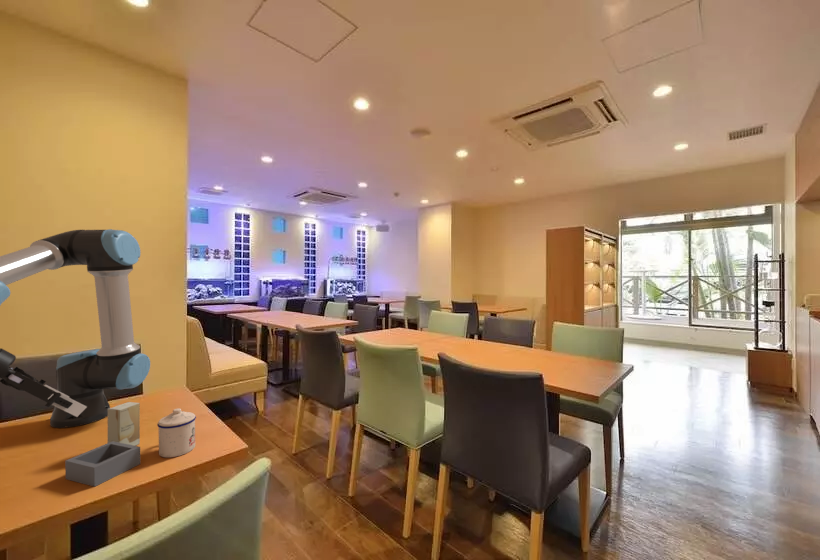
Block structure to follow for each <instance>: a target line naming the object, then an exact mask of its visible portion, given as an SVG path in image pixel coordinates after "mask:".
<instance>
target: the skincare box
mask: <svg viewBox="0 0 820 560" xmlns="http://www.w3.org/2000/svg"><path fill="white" fill-rule="evenodd" d="M140 404H141V402H133V401H127V402H125V403H122V404H121V403H120V404H117V405H116V406H113V407H110V408H109V409H108V416H107V443H109V442H112V441H114V442H119V443H124V444H129V445H134V446H138V445H140V443H141V442H140V441H141V440H140V438H141V437H140V436H141V435H140V433H141V431H140V429H141V428H140V427H141V425H140V419H141V418H140V415H141V412H140V409H141V408H140V406H141V405H140ZM107 443H106V444H107Z"/></svg>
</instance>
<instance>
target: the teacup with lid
mask: <svg viewBox="0 0 820 560" xmlns="http://www.w3.org/2000/svg"><path fill="white" fill-rule="evenodd" d="M196 419H197V416H196V414H195V413H193V412H191V411H190V412H189V411H182V409H181V408H174V409H173V410H172V412H171V413H169V414H168V415H166V416H164V417H162V418H160V419H159V420H158V422H157V427H158V455H159V456H160V457H162V458H175V457H179V456H183V455H185V454H188V453H190V452H192V451H193V450H194V449H195V447H196Z"/></svg>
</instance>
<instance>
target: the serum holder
mask: <svg viewBox="0 0 820 560" xmlns="http://www.w3.org/2000/svg"><path fill="white" fill-rule="evenodd" d="M64 463H65V466H64V467H65V471H64V472H65V480H69V481H73V482H75V483H80V484H84V485H88V486H91V487H94V488H95V487H97V486H99V485H100V484H101V485H102V484H103V483H104V482H107V481H108V480H112V479H113V478H116V477H117V476H119V475H121V474H123V473H125V472H127V471H129V470H131V469H134V468H135V467H136V466H137V467H138V466H139V465H141V446H138V445H136V446H134V445H129V444H124V443H119V442H114V441H112V442H109V443H105V444H102V445H100V446H98V447H95V448H93V449H91V450H87V451H85V452H83V453H80V454H77V455H75V456H73V457H71V458H69V459H65V461H64Z"/></svg>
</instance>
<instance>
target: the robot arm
mask: <svg viewBox="0 0 820 560" xmlns="http://www.w3.org/2000/svg"><path fill="white" fill-rule="evenodd" d="M140 257H141V247H140V244H139V242H138V240H137V239H136V238H135V237H134V236H133V235H132V234H131V233H129V232H128V231H125V230H120V229H111V228H109V229H74V230H68V231H64V232H60V233H57V234H54V235H52V236H48V237H44V238H40V239H38V240H35V241H33V242H31V244H30V245H29V246H28V247H25V248H22V249H18V250H16V251H13V252H9V253H7V254H3V255H0V306H2V304H3V303H4V302H5V301H7V299H8V298H9V297H10V296H11V290H10V288H9V286H8V285H10V284H11V285H12V284H13V283H16V282H18V281H22V280H23V279H26V278H28V277H30V276H33V275H36V274H39V273H41V272H43V271H46V270H51V271H52V270H54V271H55V270H58V269H60V268H64V267H68V266H86V270H87V273H89V274H90V275H92V276H93V278H94V285H95V286H94V287H95V295H96V305H97V314H98V324H99V333H100V343H101V345H100V346H101V347H100V348H95V349H88V350H83V351H78V352H77V351H76V352H72V353H68V354H64V355H61V356H59V357H58V358H57V361H56V368H55V373H56V374H55V377H56V389H55V388H53V387H51V386H49V384H48V385H47V384H45V383H46V382H47V381H46V380H44V379H40V381H39V380H38V379H37V378H36V377H34V376H32V375H30V374H29V373H28V372H27V371H25V370H24V369H22V368H20V367H18V366H16V367H15V368H13V367H10V366H11V365H13V364H14V362H15V361H16V359H17V356H16V355H15V354H13V353H11V352H9V351H8V350H6V349H4V348H3V347H2V348H0V383H1V384H3V385H5V386H7V387H9V388H10V387H11V388H14V389H15V390H17V391H19V392H26V393H28V394H30V395H32V396H34V397H36V398H37V399H39V400H41V401H44V402H45V403H46V404H45V405H44V406H45V407H48V408H49V407H51V406H53V407H54V408H53V410H52V413H51V415H50V419H49V421H50V427H52V428H57V429H58V428H59V429H61V428H62V429H63V428H72V427H78V426H83V425H88V424H91V423H93V422H94V423H95V422H97V421H100V420H102V419H105V418H107V417H108V409H109V408H111V406H110V403H109V401H108V400H107V397H106V395H105V393H104V390H124V389H133V388H136V387H138V386H140V385H141V384H142V383H143V382H144V381H145V379H146V378H147V376H148V375H149V372H150V369H151V360H150V357H149V356H148V355H147V354H145V353H142V352H141V346H140V344H137V343H136V342H135V338H134V337H135V336H134V326H133V316H132V305H131V295H130V283H129V274H130V273H131V272H132V271H133V270H134V265H136V264H137V263H138V261H140V260H139V259H140Z"/></svg>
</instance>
